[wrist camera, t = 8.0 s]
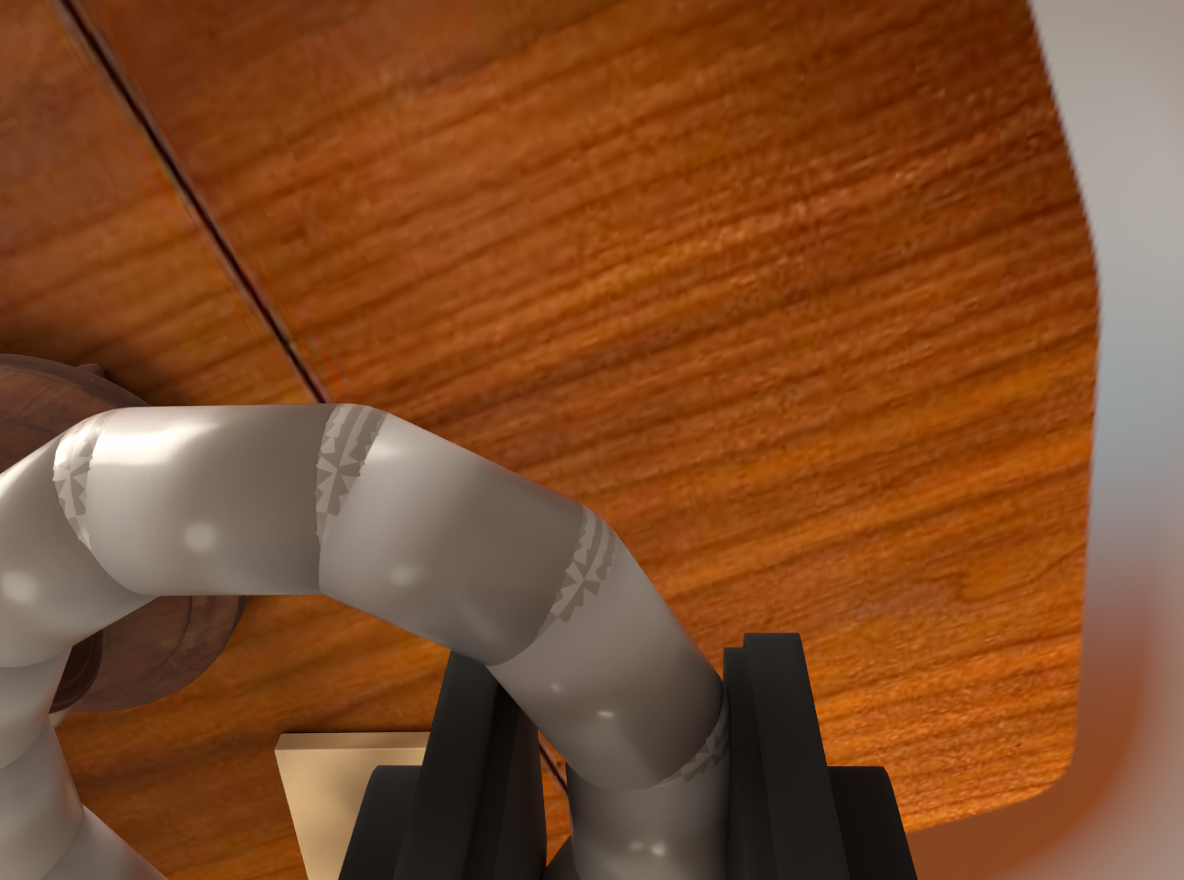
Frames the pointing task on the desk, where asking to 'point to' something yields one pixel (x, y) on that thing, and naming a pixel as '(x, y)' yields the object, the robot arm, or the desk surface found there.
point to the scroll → (150, 633)
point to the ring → (370, 584)
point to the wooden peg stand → (335, 786)
